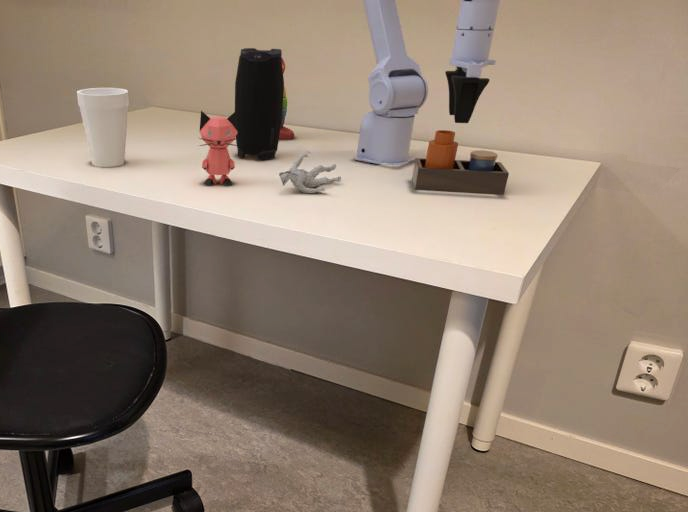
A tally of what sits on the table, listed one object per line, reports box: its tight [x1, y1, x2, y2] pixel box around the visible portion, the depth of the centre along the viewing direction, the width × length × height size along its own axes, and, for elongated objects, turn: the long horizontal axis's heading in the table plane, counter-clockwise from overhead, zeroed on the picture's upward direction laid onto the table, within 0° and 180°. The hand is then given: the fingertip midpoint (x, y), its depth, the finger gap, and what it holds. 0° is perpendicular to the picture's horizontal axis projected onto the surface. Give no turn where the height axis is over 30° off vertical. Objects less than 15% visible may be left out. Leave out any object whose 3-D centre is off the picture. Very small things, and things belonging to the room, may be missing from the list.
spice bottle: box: [425, 129, 459, 169], centre depth 107 cm, size 5×5×8 cm
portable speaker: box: [234, 47, 285, 161], centre depth 124 cm, size 9×9×20 cm
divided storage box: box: [411, 157, 510, 196], centre depth 108 cm, size 7×14×4 cm, turn 78°
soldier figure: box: [278, 150, 342, 194], centre depth 108 cm, size 8×5×12 cm
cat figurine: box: [197, 110, 239, 186], centre depth 109 cm, size 7×7×12 cm
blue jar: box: [468, 150, 499, 171], centre depth 107 cm, size 4×4×6 cm
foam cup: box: [76, 87, 130, 168], centre depth 121 cm, size 10×9×13 cm
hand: (458, 118), depth 109 cm, fingers open, 7 cm apart
